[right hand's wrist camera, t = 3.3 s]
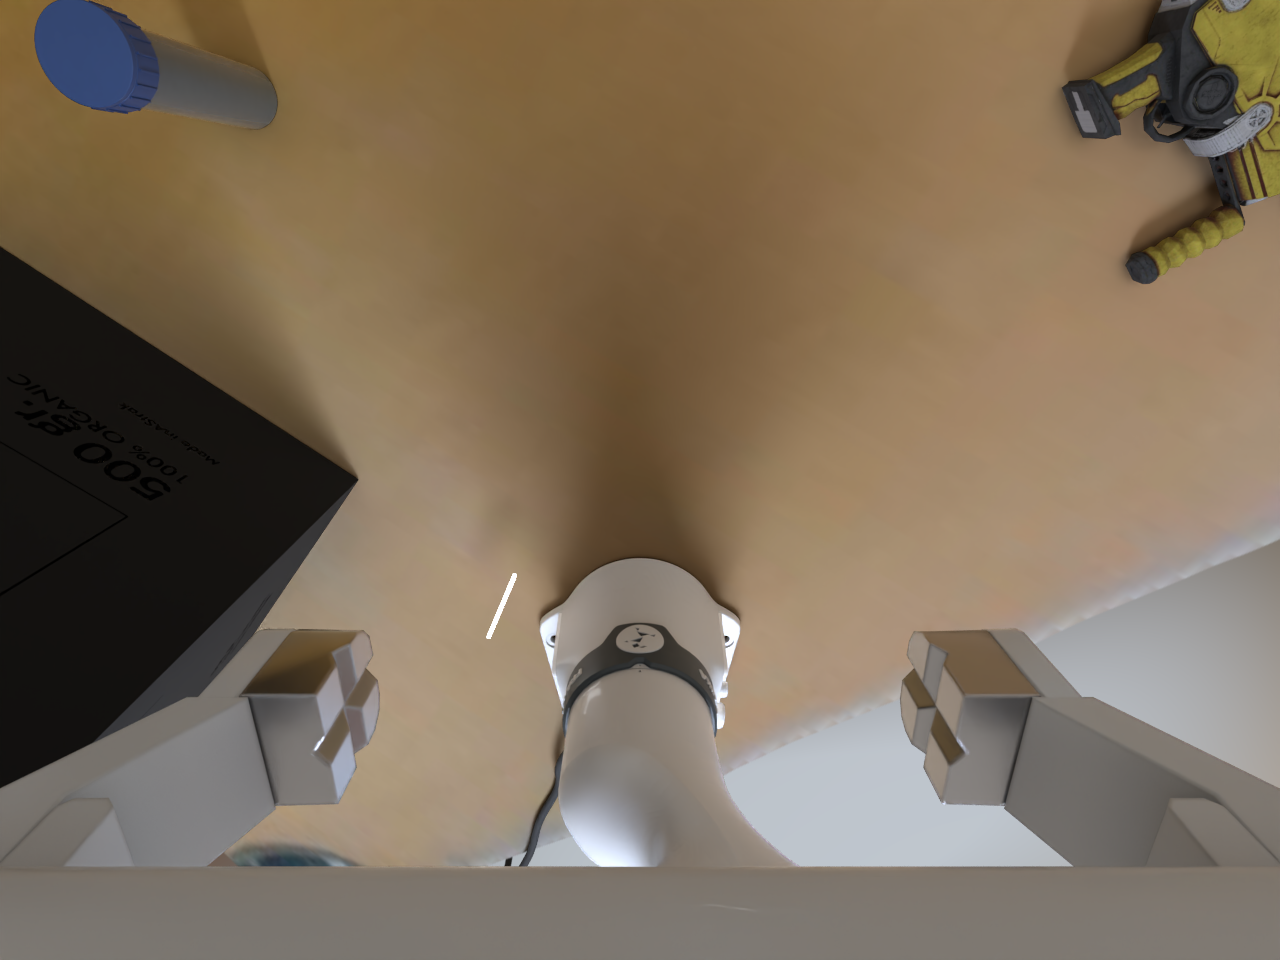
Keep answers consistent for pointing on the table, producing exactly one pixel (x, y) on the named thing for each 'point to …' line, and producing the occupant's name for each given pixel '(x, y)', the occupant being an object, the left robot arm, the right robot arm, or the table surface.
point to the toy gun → (1199, 109)
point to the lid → (96, 56)
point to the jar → (210, 86)
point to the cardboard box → (129, 524)
